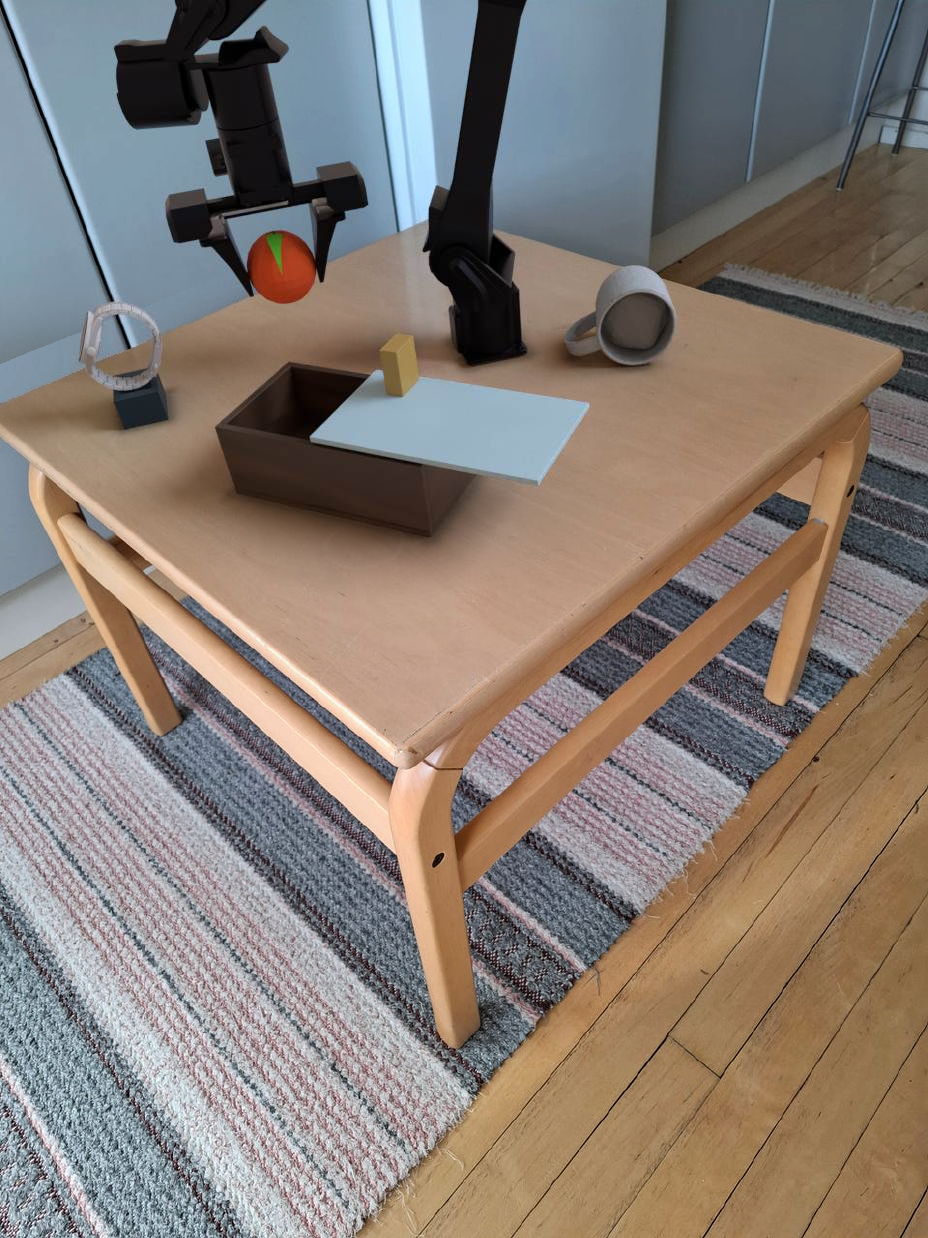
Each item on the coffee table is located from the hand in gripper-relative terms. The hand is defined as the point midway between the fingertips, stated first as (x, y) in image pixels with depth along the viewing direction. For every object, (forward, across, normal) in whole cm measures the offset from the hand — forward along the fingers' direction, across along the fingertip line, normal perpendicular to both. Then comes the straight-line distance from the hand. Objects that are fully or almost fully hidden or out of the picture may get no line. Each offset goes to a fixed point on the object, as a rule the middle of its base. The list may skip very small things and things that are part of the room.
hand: (287, 287), depth 92 cm
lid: (+1, -9, +31) cm, 32 cm away
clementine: (+2, 0, 0) cm, 2 cm away
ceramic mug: (+8, -31, +13) cm, 34 cm away
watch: (+8, +17, +5) cm, 19 cm away
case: (+8, -2, +25) cm, 26 cm away
